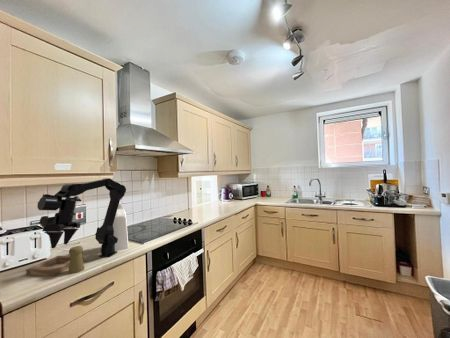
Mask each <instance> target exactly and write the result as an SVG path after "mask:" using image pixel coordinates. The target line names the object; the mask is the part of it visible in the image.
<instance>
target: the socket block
mask: <svg viewBox="0 0 450 338" xmlns="http://www.w3.org/2000/svg"><path fill="white" fill-rule="evenodd" d="M70 256H71V255H56V256H54V257H51V258H49V259H47V260H44V261H42V262H40V263H38V264H35V265H33V266H31V267H29V268H26V269H25V275H26V276H42V277H43V276H44V277H56V276H58V275H59V274H61V273H64V272H65V271H68V270H69V264H70ZM82 258H83V262H84V255H82ZM59 263H62V264H60V265H57V266H56V267H52V266H54V265H56V264H59Z"/></svg>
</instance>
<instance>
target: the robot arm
mask: <svg viewBox="0 0 450 338" xmlns="http://www.w3.org/2000/svg"><path fill="white" fill-rule="evenodd" d="M103 187H104V188H106V190H108V191H109V193H108V195H109V203H108V206H107V208H106V209H107V210H106V213H105V216H104V220H103V223H102V225H100V227H97V228H96V232H95V234H94V236H95V240H96V241H97V242H98V244H99V245H101V248H100V254H99V256H98V257H100V258H101V257H104V258H105V257H106V258H107V257H108V258H109V257H112V256H114V255H115V254H116V253H118V250H115V243H117V241H118V238H116V237H115V236H113V235H114V229H113V223H114V219H115V216H116V212H117V209H118V205H119V204H120V201H121V200H122V199H123V197H124V196H125V194H126V191H127V187H126V186H125V185H123V184H121V183H119V182H117V181H115V180H113V179H112V178H107V177H106V178H102V179H98V180H92V181H88V182H84V183H83V182H82V183H66V184H63V185H62V187H61V188H60V190H59V191H58V192H56V193H55V194H49V193H48V194H46V193H45V194H42V196H41V197H40V199H39V200H38V202H37V209H38V211H58V212H55V213H54V216H48V215H45V216H44V215H43V216H41V217H40V219H39V222H38V224H40V225H41V227H42V230H41V231H42V232H43V233H44V234H47V235H48V237H49V241H50V247H51V249H55V248H56V247H57V245H58V243H59V241H60V239H61V237H62V235H63V234H64V235H63V236H64V237H63V245H68V243H69V242H70V241H71V239H72V238H73V237H74V235H75V234H76V233H77V231H78V230H79V228H81V224H82V223H81V222H79V221H73V219H74V216H76V215H77V214H76V212H75V209H76V204H77V202H82V199H81V198H80V197H79V196H78V195H81V194H83V193H85V192H86V191H90V190H94V189H98V188H103ZM63 198H64V199H63Z"/></svg>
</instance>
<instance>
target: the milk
mask: <svg viewBox="0 0 450 338" xmlns="http://www.w3.org/2000/svg"><path fill="white" fill-rule="evenodd" d="M113 229H114V235H113V236H115V237H116V238H118V241H117V243H115V251H118V250H125V249H129V238H128V236H129V235H128V234H129V233H128V221H127V213H126V210H125V208H124V206H123V204H122V203H119V205H118V209H117V212H116V216H115V219H114V223H113Z"/></svg>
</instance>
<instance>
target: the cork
mask: <svg viewBox="0 0 450 338" xmlns="http://www.w3.org/2000/svg"><path fill="white" fill-rule="evenodd" d="M83 252H84V248H83V246H82V245H75V246H73V247H70V249H69V250H68V254H69V256H70V264H69V269H68V270H67V271H68V273H67V274H70V275H71V274H72V275H73V274H78V273H80V272H83V271H84V270H85V263H84V261H83V260H84V257H83V258H82V256H83V254H82V253H83Z"/></svg>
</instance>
